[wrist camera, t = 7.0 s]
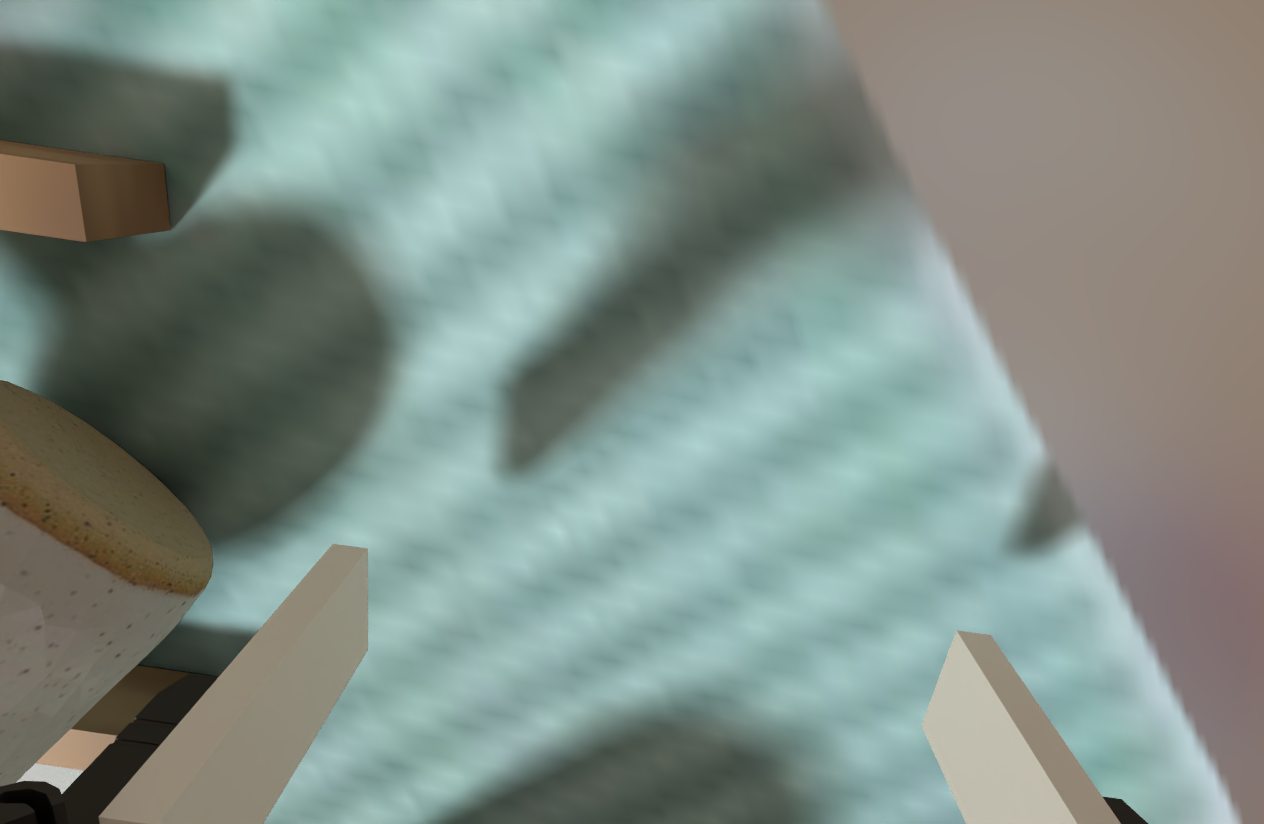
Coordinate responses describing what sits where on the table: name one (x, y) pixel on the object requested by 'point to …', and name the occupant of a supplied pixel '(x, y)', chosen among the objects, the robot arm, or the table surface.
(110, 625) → the ceramic mug
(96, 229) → the brown wooden flat frame
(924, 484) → the table surface
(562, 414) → the table surface
